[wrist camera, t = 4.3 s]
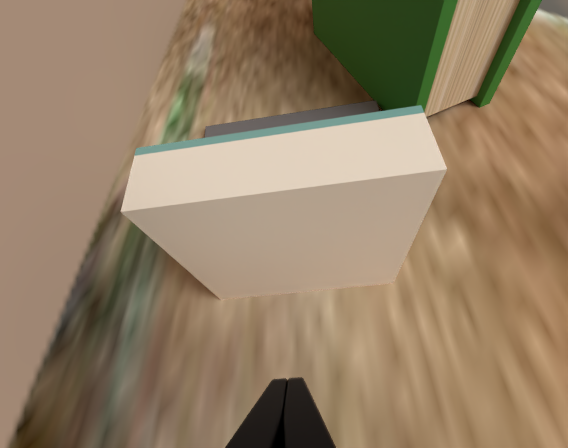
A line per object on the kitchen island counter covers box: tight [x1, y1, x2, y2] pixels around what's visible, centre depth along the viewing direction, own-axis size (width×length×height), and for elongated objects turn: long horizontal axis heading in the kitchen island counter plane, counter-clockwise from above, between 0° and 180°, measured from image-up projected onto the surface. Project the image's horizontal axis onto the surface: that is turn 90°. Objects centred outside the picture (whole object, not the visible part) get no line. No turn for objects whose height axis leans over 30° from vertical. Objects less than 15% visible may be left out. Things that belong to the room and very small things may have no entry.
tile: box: [121, 105, 447, 300], centre depth 16 cm, size 3×11×11 cm, turn 93°
